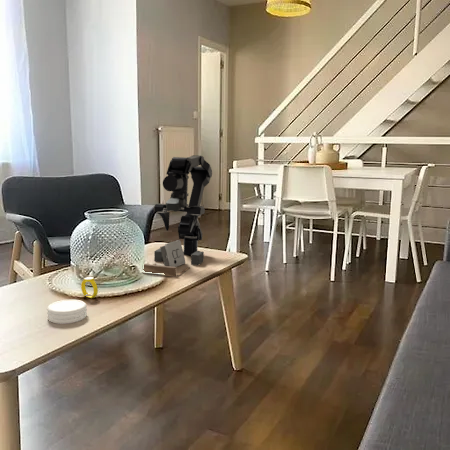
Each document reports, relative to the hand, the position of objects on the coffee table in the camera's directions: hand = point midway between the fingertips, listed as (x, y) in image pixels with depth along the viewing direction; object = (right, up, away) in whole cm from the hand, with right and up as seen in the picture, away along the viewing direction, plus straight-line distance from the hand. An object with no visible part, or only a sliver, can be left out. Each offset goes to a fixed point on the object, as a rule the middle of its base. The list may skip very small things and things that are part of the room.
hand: (178, 231), depth 186 cm
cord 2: (+7, -12, +1) cm, 14 cm away
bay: (-4, -14, -10) cm, 17 cm away
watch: (-23, -19, -40) cm, 50 cm away
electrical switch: (-2, -13, -3) cm, 13 cm away
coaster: (-24, -22, -56) cm, 65 cm away
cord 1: (-7, -11, +5) cm, 14 cm away
